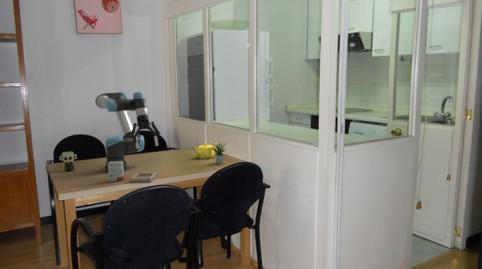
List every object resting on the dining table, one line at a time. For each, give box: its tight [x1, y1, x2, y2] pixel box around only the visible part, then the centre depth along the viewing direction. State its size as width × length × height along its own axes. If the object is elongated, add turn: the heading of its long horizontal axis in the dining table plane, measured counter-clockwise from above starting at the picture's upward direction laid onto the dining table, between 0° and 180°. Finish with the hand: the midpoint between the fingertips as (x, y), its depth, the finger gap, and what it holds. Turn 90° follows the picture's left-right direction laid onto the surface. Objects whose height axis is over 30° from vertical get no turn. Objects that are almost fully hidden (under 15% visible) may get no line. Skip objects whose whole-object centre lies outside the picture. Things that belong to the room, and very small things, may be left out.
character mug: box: [59, 151, 78, 171], centre depth 270 cm, size 11×7×13 cm, turn 112°
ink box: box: [108, 161, 125, 182], centre depth 240 cm, size 9×5×12 cm, turn 92°
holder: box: [129, 171, 158, 184], centre depth 241 cm, size 13×15×2 cm
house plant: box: [210, 141, 229, 165], centre depth 280 cm, size 14×14×16 cm
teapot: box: [192, 142, 218, 160], centre depth 300 cm, size 22×16×11 cm
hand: (147, 147), depth 251 cm, fingers open, 13 cm apart
